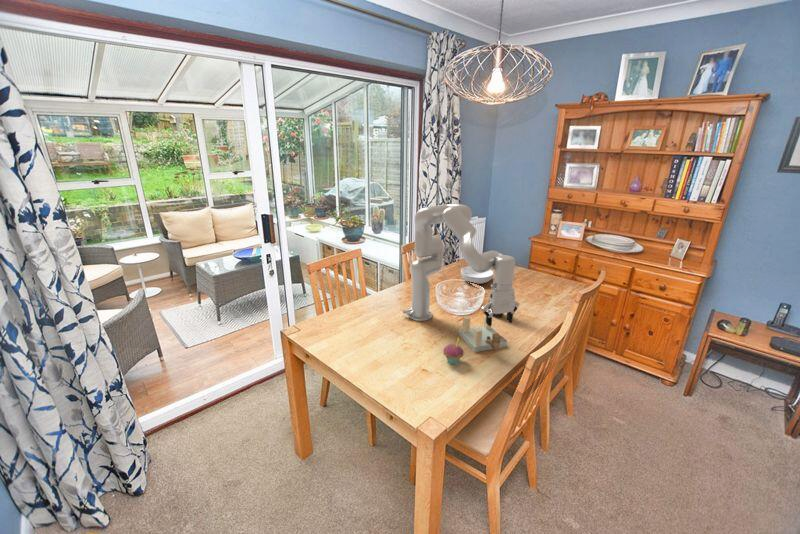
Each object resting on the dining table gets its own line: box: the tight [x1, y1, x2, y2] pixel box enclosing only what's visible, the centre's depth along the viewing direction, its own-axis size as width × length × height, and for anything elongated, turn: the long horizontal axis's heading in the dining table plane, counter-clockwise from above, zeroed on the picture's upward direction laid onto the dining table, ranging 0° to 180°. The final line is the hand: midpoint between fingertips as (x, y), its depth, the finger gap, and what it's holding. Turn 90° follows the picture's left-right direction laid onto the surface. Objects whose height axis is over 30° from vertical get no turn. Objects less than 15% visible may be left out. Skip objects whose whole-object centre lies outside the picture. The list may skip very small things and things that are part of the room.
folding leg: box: [486, 332, 502, 351], centre depth 154 cm, size 8×2×7 cm, turn 16°
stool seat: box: [458, 313, 508, 353], centre depth 163 cm, size 16×16×10 cm
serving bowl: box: [460, 265, 494, 285], centre depth 231 cm, size 21×21×7 cm
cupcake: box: [442, 335, 465, 365], centre depth 147 cm, size 9×8×12 cm
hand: (499, 323), depth 148 cm, fingers open, 9 cm apart
